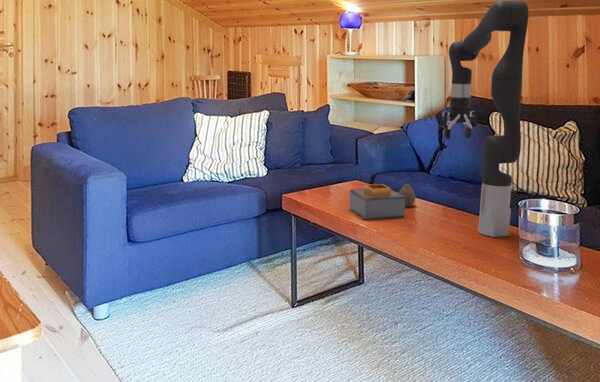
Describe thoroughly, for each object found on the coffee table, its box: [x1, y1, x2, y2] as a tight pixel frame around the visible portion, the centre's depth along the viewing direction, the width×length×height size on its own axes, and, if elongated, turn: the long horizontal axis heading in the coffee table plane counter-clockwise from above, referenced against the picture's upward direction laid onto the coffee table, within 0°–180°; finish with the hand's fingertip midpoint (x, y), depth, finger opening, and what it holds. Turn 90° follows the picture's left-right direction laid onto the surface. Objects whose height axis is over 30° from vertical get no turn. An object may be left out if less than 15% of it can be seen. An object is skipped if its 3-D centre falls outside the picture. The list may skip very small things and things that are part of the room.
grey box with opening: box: [349, 183, 406, 221], centre depth 207 cm, size 20×16×10 cm
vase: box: [398, 183, 416, 208], centre depth 216 cm, size 7×7×9 cm
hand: (457, 138), depth 207 cm, fingers open, 8 cm apart
